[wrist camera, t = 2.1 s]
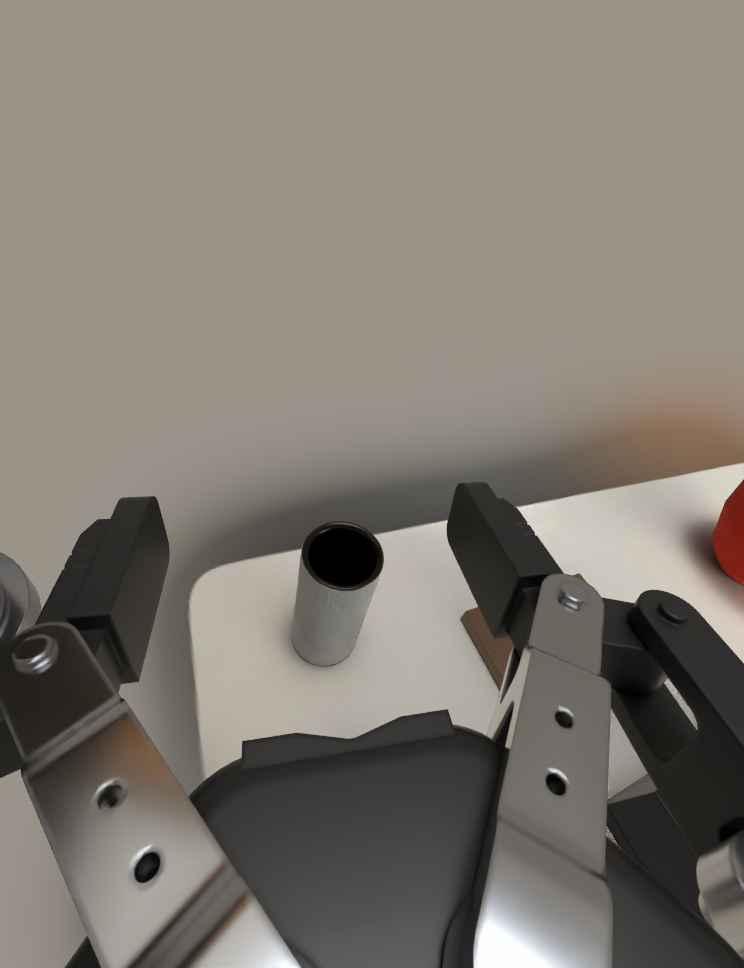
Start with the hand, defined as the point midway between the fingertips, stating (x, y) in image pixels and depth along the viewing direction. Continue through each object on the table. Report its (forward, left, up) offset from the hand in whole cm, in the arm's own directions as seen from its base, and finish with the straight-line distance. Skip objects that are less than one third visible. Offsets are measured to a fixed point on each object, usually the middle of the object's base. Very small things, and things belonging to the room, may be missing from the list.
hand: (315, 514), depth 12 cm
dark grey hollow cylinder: (+4, +5, -21) cm, 22 cm away
